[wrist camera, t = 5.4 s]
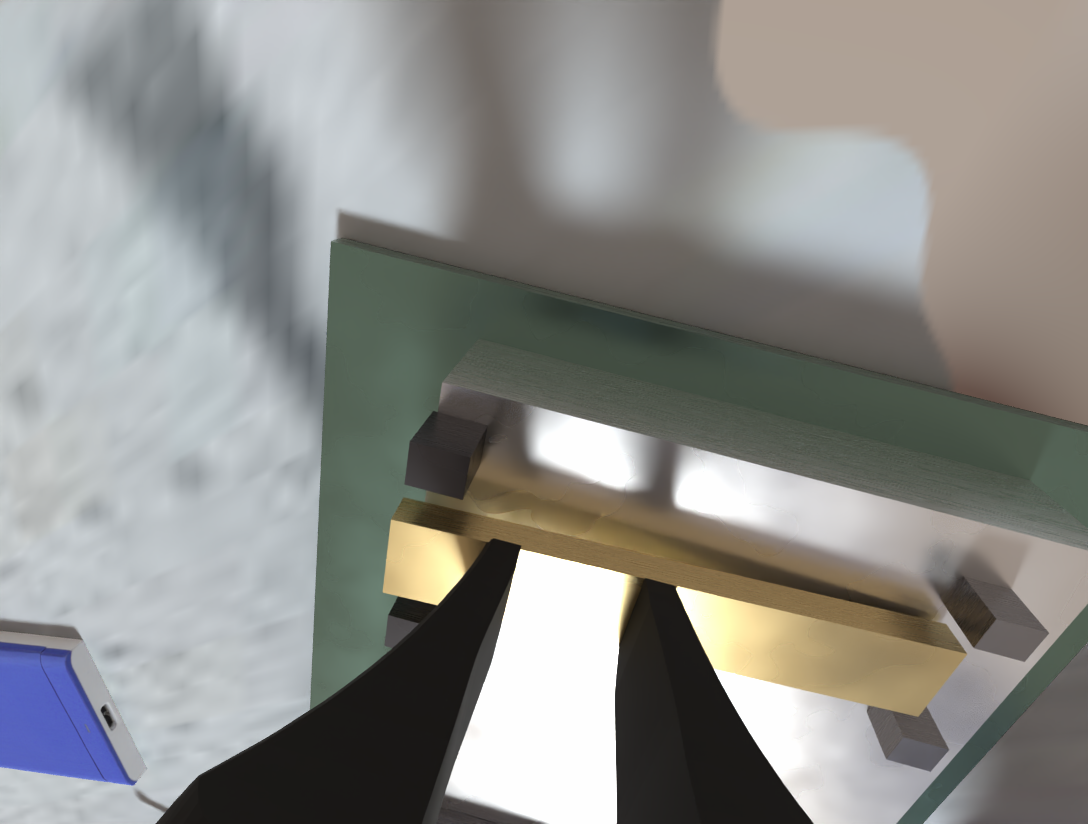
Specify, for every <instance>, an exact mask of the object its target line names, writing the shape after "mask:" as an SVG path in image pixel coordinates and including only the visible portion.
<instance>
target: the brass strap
mask: <svg viewBox="0 0 1088 824" xmlns="http://www.w3.org/2000/svg"><path fill="white" fill-rule="evenodd" d="M493 538H495V539H499V540H503V541H507V542H510V543H514V544H518V545H522V546H521V550H520V554H519V558H518V562H517V566H516V570H515V574H514V578H513V582H512V586H511V590H510V594H509V598H508V602H507V606H506V610H505V614H504V618H503V621H508V622H512V623H516V624H520V625H525V626H529V627H533V628H538V629H542V630H546V631H551V632H555V633H559V634H564V635H568V636H572V637H576V638H581V639H585V640H589V641H594V642H598V643H602V644H607V645H611V646H615V647H619V644H620V641H621V639H622V636H623V634H624V631H625V629H626V626H627V623H628V621H629V618H630V616H631V613H632V610H633V608H634V605H635V603H636V600H637V598H638V595H639V592H640V590H641V587H642V585H643V582H644V579H645V578H648V579H651V580H655V581H659V582H663V583H667V584H670V585H674V586H675V588H676V590H677V592H678V594H679V596H680V599H681V601H682V603H683V605H684V608H685V610H686V612H687V614H688V616H689V619H690V621H691V623H692V625H693V627H694V629H695V632H696V634H697V636H698V638H699V640H700V642H701V644H702V646H703V648H704V650H705V652H706V654H707V656H708V658H709V660H710V662H711V664H712V666H713V668H714V670H719V671H723V672H727V673H732V674H736V675H740V676H745V677H749V678H753V679H758V680H762V681H766V682H770V683H775V684H779V685H783V686H788V687H792V688H796V689H801V690H805V691H809V692H814V693H818V694H822V695H827V696H831V697H835V698H839V699H844V700H848V701H852V702H857V703H861V704H865V705H870V706H874V707H878V708H883V709H887V710H891V711H896V712H900V713H904V714H908V715H913V716H917V717H919V715H920V714H921V713H922V711H923V710H924V709H925V708H926V706H927V705H928V704H929V703H930V701H931V700H932V699H933V697H934V696H935V695H936V694H937V692H938V691H939V690H940V689H941V687H942V686H943V685H944V683H945V682H946V681H947V680H948V678H949V677H950V676H951V675H952V673H953V672H954V671H955V669H956V668H957V667H958V666H959V664H960V663H961V662H962V660H963V659H964V658H965V657H966V655H967V653H966V651H965V650H964V648H963V647H962V646H961V644H960V643H959V641H958V640H957V638H956V637H955V636H954V634H953V633H952V631H951V630H950V629H949V627H948V626H947V624H944V623H940V622H936V621H932V620H927V619H923V618H919V617H914V616H910V615H906V614H902V613H897V612H893V611H889V610H885V609H880V608H876V607H872V606H867V605H863V604H859V603H855V602H850V601H846V600H842V599H837V598H833V597H829V596H825V595H820V594H816V593H812V592H808V591H803V590H799V589H795V588H790V587H786V586H782V585H778V584H773V583H769V582H765V581H760V580H756V579H752V578H748V577H743V576H739V575H735V574H730V573H726V572H722V571H718V570H713V569H709V568H705V567H701V566H696V565H692V564H688V563H683V562H679V561H675V560H671V559H666V558H662V557H658V556H653V555H649V554H645V553H641V552H636V551H632V550H628V549H623V548H619V547H615V546H611V545H606V544H602V543H598V542H594V541H589V540H585V539H581V538H576V537H572V536H568V535H564V534H559V533H555V532H551V531H546V530H542V529H538V528H534V527H529V526H525V525H521V524H516V523H512V522H508V521H504V520H499V519H495V518H491V517H487V516H482V515H478V514H474V513H469V512H465V511H461V510H457V509H452V508H448V507H444V506H439V505H435V504H431V503H427V502H422V501H418V500H414V499H409V498H405V497H403V499H402V501H401V503H400V504H399V506H398V508H397V510H396V512H395V513H394V515H393V517H392V519H391V524H390V533H389V541H388V550H387V558H386V567H385V576H384V584H383V593H387V594H391V595H395V596H400V597H404V598H408V599H413V600H417V601H421V602H426V603H430V604H434V605H438V604H439V603H440V602H441V601H442V600H443V598H444V597H445V596H446V595H447V594H448V593H449V592H450V591H451V589H452V588H453V587H454V586H455V585H456V584H457V583H458V581H459V580H460V579H461V578H462V577H463V575H464V574H465V573H466V572H467V570H468V569H469V568H470V567H471V565H472V564H473V563H474V561H475V560H476V558H477V557H478V556H479V554H480V553H481V551H482V550H483V548H484V546H485V544H486V543H488V542H489V541H490V540H491V539H493Z"/></svg>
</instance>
